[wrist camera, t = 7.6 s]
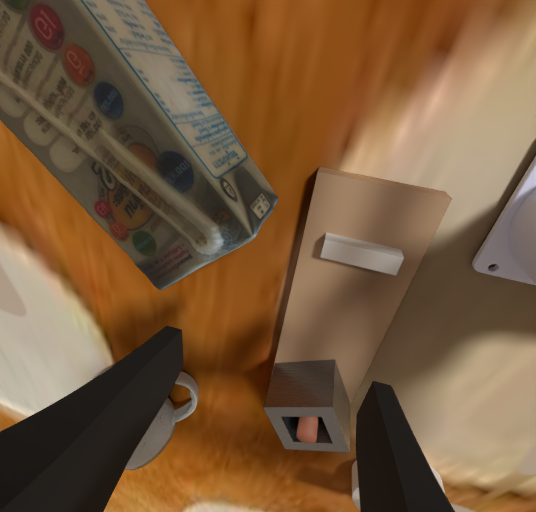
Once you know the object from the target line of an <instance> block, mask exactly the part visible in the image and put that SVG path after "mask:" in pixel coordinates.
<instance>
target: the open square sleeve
mask: <svg viewBox="0 0 536 512" xmlns="http://www.w3.org/2000/svg"><path fill="white" fill-rule="evenodd" d="M263 408H264V410H265V412H266V414H267V416H268V417H269V419H270V421H271V423H272V425H273V427H274V429H275V431H276V433H277V435H278V436H279V438H280V440H281V442H282V444H283V446H284V448H285V449H293V450H312V451H330V452H349V453H350V401H349V398H348V395H347V392H346V389H345V386H344V383H343V380H342V378H341V375H340V372H339V369H338V366H337V363H336V360H335V359H331V360H315V361H299V362H283V363H275V366H274V369H273V373H272V377H271V380H270V384H269V388H268V392H267V395H266V399H265V403H264V406H263ZM299 417H318V428H317V439H316V442H315V443H312V444H307V443H304V442H301V441H300V440H299V439H298V438H297V436H296V435H297V429H298V422H299Z"/></svg>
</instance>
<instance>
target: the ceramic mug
mask: <svg viewBox="0 0 536 512" xmlns="http://www.w3.org/2000/svg"><path fill="white" fill-rule="evenodd" d="M110 368H111V367H110ZM107 370H108V369H107ZM104 372H105V371H104ZM101 374H102V373H101ZM175 384H178V385H183V386H185V387H187V388H189V390H190V391H191V392H190V396H191V398H192V399H191V401H190V402H188V403H187V404H186V405H184V406H182V407H180V408H178V409H176V410H175V408H174V406H173V404H172V402H171V400H170V399H169V398H168V397H167V399H166V401H165V402H164V404H163V406H162V407H161V409H160V410H159V412H158V414H157V415H156V417H155V419H154V420H153V422H152V423H151V425H150V427H149V428H148V430H147V431H146V433H145V435H144V436H143V438H142V440H141V441H140V443H139V444H138V446H137V448H136V449H135V451H134V453H133V455H132V456H131V458H130V460H129V462H128V463H127V465H126V467H125V470H136V469H139V468H142V467H144V466H146V465H147V464H149V463H150V462H151V461H153V460H154V459H155V458H156V457H157V456H158V455H159V454H160V453H161V452H162V451H163V450H164V449H165V447H166V446H167V444H168V443H169V441H170V440H171V437H172V435H173V433H174V430H175V427H176V422H178V421H181V420H183V419H184V418H186V417H188V416H189V415H190V414H191V413H192V412H193V411H194V410H195V408H196V405H197V402H198V386H197V383H196V382H195V380H194V379H193V377H191V376H190V375H189V374H187V373H185V372H182V371H181V372H180V374H179V376H178V378H177V380H176V382H175Z"/></svg>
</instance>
